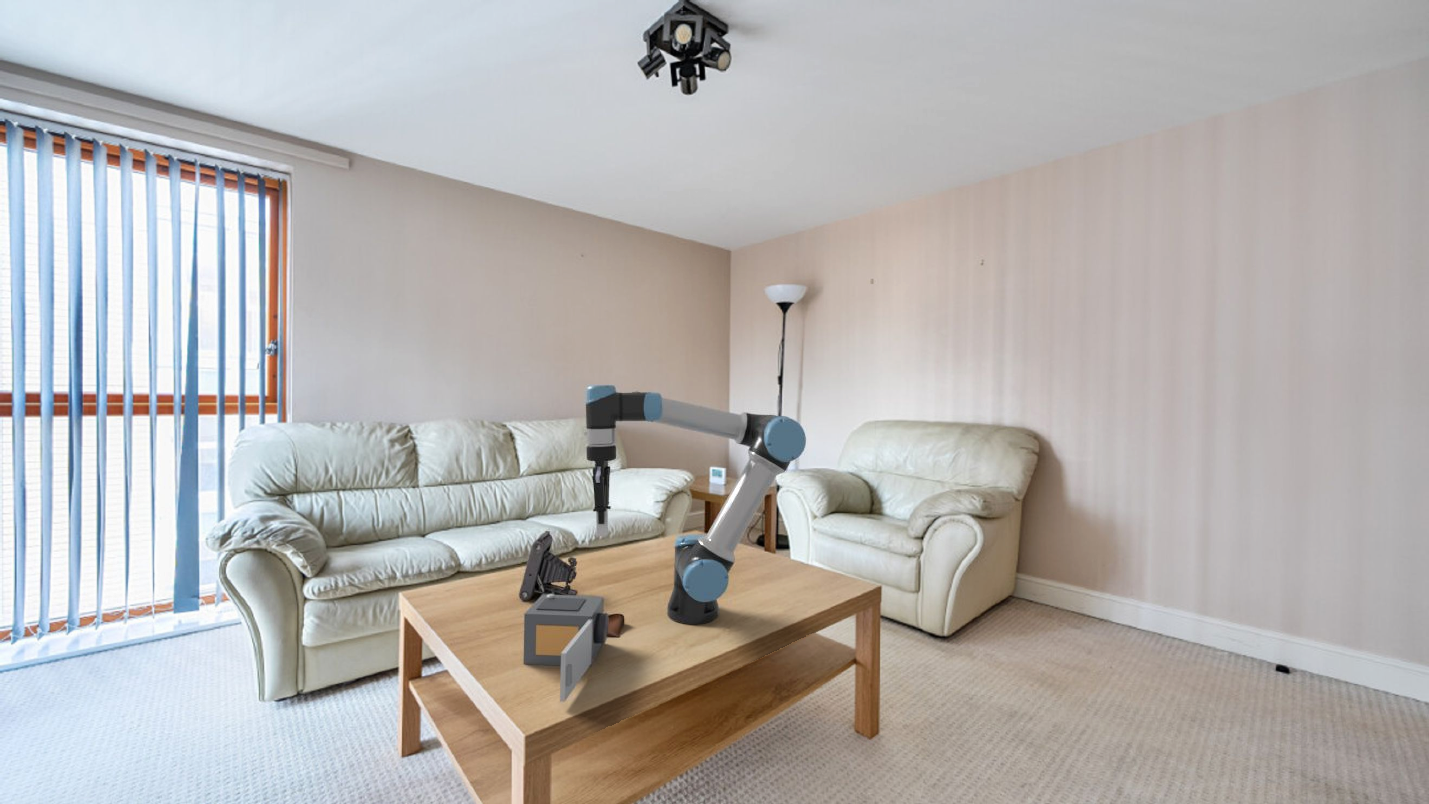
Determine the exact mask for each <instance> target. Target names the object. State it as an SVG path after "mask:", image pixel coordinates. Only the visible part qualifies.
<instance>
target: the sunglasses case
mask: <svg viewBox="0 0 1429 804" xmlns="http://www.w3.org/2000/svg"><path fill="white" fill-rule="evenodd" d="M608 617H609V626H608V634H607V638H608V637H609V638H620V637H621V633H622V630H623V628H624V625H625V622H626V621H625V620H626V619H625V615H624V614H622V613H611V614H610V613H608Z"/></svg>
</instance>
